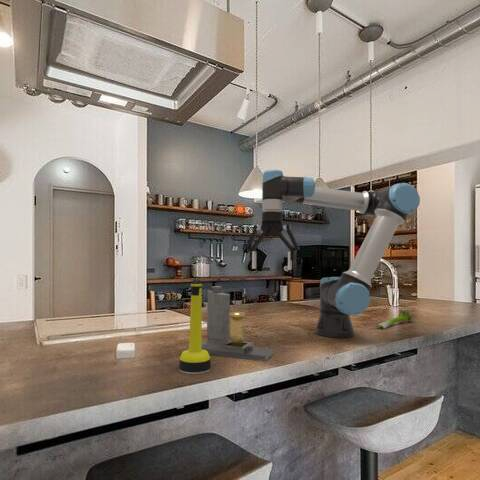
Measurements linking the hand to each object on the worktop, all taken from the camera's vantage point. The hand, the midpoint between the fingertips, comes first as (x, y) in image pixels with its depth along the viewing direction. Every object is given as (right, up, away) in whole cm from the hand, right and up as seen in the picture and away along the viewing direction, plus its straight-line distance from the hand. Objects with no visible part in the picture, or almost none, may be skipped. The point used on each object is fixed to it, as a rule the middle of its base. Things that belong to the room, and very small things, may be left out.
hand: (271, 269), depth 132 cm
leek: (+62, -30, +36) cm, 78 cm away
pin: (-13, -26, -17) cm, 33 cm away
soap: (-48, -26, -20) cm, 58 cm away
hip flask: (-21, -27, +2) cm, 34 cm away
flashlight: (-24, -25, -33) cm, 48 cm away
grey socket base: (-13, -26, -17) cm, 33 cm away
